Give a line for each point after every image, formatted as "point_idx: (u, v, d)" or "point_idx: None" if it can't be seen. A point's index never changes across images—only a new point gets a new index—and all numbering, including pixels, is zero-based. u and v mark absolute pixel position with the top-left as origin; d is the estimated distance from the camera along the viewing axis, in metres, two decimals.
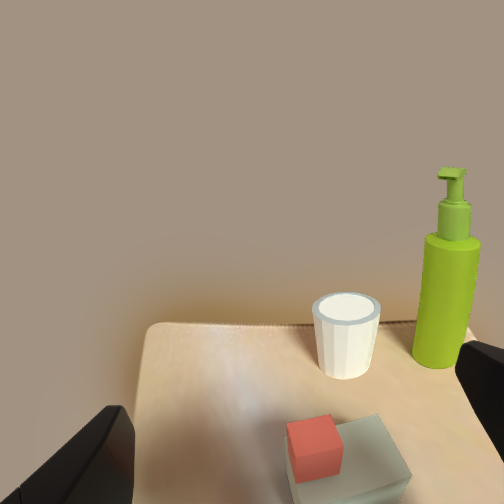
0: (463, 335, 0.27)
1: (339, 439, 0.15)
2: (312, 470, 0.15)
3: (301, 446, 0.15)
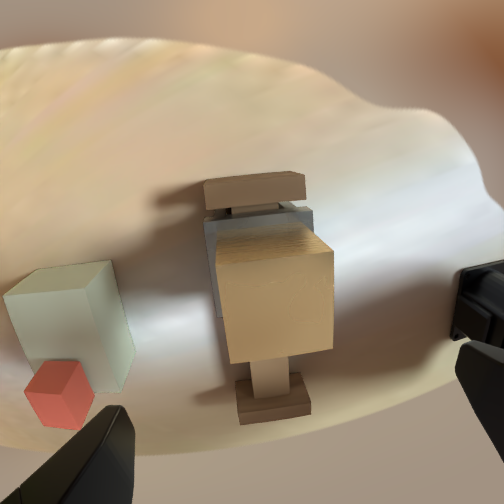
0: None
1: (53, 395, 0.13)
2: (83, 397, 0.15)
3: (66, 423, 0.13)
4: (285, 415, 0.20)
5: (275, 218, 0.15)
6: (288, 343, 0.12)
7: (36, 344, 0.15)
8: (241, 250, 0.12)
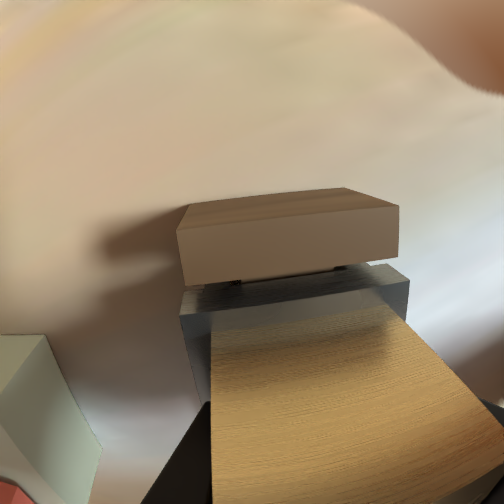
0: None
1: None
2: None
3: None
4: None
5: (338, 302, 0.07)
6: None
7: None
8: (285, 458, 0.03)
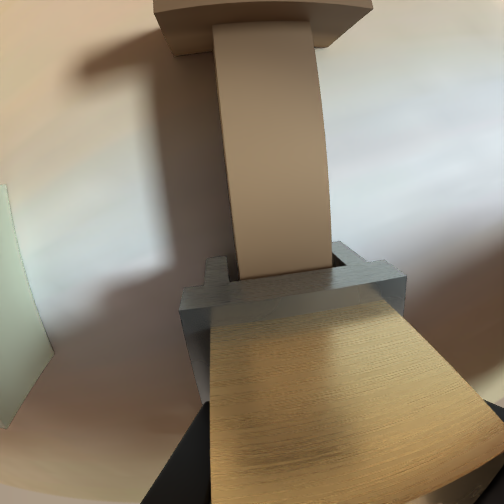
0: None
1: None
2: None
3: None
4: None
5: (336, 297, 0.07)
6: None
7: None
8: (283, 449, 0.04)
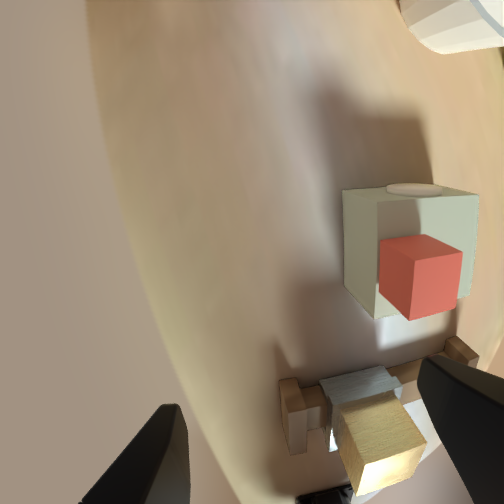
0: None
1: (455, 297, 0.12)
2: None
3: (420, 304, 0.12)
4: (294, 440, 0.19)
5: None
6: (369, 480, 0.14)
7: (436, 223, 0.14)
8: None
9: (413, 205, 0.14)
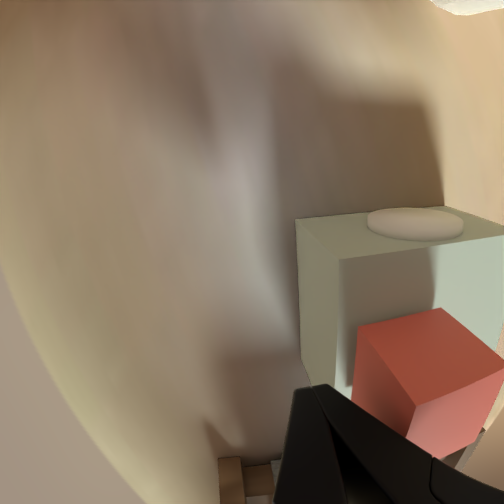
0: None
1: (479, 429, 0.05)
2: None
3: None
4: None
5: None
6: None
7: (450, 288, 0.08)
8: None
9: (412, 260, 0.07)
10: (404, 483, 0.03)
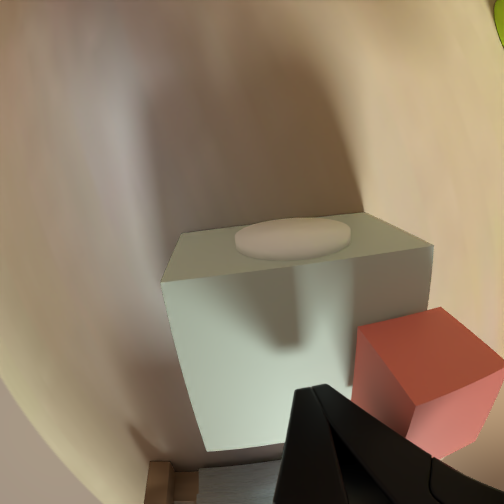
0: None
1: (479, 429, 0.05)
2: None
3: None
4: None
5: None
6: None
7: (319, 315, 0.08)
8: None
9: (253, 284, 0.07)
10: (403, 483, 0.03)
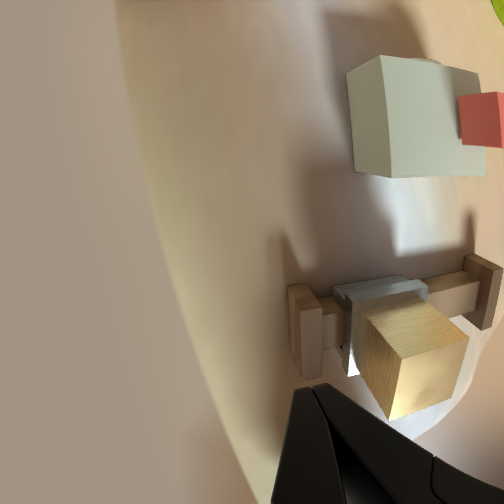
0: None
1: None
2: None
3: None
4: (307, 356, 0.18)
5: None
6: (405, 393, 0.13)
7: (441, 88, 0.13)
8: None
9: (415, 65, 0.12)
10: (405, 482, 0.03)
